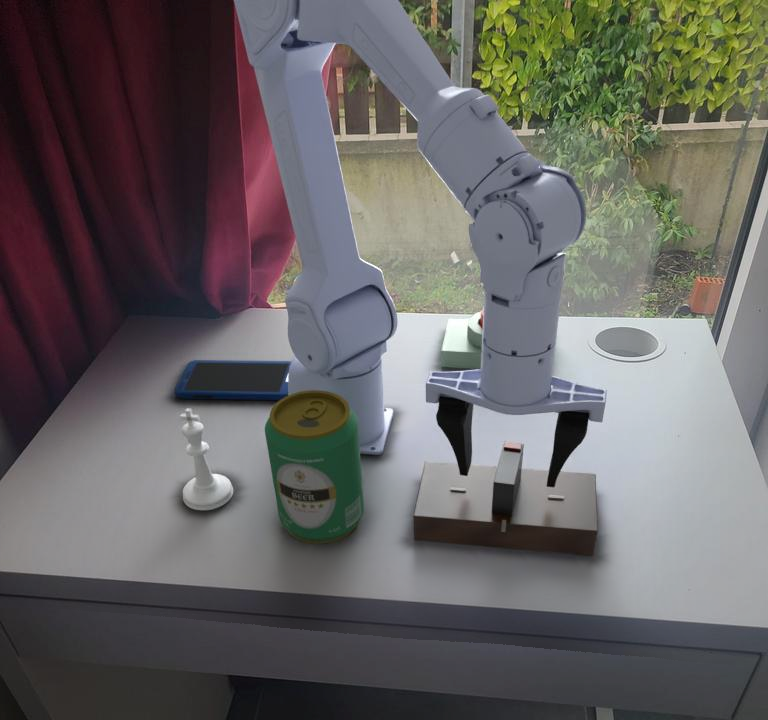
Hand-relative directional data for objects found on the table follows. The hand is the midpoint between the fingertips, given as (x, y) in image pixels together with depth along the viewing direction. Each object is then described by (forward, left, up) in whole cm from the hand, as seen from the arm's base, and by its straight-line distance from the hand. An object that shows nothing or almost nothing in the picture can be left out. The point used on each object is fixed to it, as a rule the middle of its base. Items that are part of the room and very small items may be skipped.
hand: (508, 474), depth 72 cm
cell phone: (-32, +20, -5) cm, 38 cm away
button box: (-3, +30, -5) cm, 31 cm away
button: (-3, +30, -2) cm, 30 cm away
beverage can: (-17, -2, -6) cm, 18 cm away
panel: (0, 0, -5) cm, 5 cm away
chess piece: (-29, 0, -6) cm, 30 cm away
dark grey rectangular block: (0, 0, -2) cm, 2 cm away
